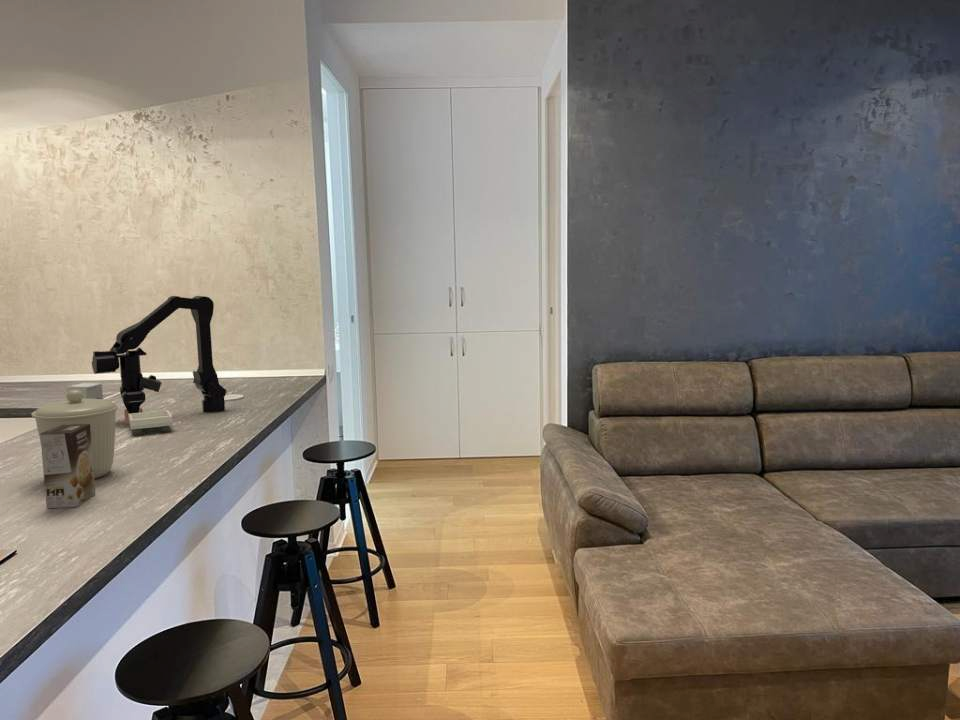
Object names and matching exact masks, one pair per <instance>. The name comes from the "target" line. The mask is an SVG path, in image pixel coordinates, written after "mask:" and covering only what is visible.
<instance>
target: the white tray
mask: <svg viewBox="0 0 960 720" xmlns="http://www.w3.org/2000/svg"><path fill="white" fill-rule="evenodd" d="M128 416H129V424H128V425H129V427H130V431H131V430H133V434H134V435H137V436H138V437H139V435H140V436H142V435H143V434H142V433H143V429H147V428H148V429H149V428H150V429H151V428H157V427H159V428H160V427H161V430H162V431H163V432H165V433H170V431H171V426H174V425H173V423H174V422H173V416H172V414H171V412H170V411H169V410H168V409H164V410H153V411H143V412H142V413H132V414H128ZM137 436H136V437H137Z"/></svg>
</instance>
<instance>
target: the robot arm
mask: <svg viewBox="0 0 960 720" xmlns="http://www.w3.org/2000/svg"><path fill="white" fill-rule="evenodd" d="M214 308H215V304H214V301H213V299H212V298H210V297H208V296H202V295H195V296H194V297H192V298H191V297H183V296H179V295H178V296H177V295H170V296H169V297H167V299H166V300H165V301H163V303H161V304H160V305H159V306H157V307H156V308H155V309H153V311H151V312H150V313H149V314H147V315H146V316H145V317H144V318H143V319H141V320H140V321H139V322H137V323H135V324H132V325H130V326H128V327H126V328H124V329H122V330H121V331H118V333H117V334H116V338H115V340H116V341H115V342H114V344H113V345H112V347H111V348H110V350H104V351H100V350H99V351H98V350H95V351H92V352H93V354H92V355H93V356H92V361H91V368H92V371H93V373H94V374H95V375H97V374H107V373H108V374H109V373H116V371H117V370H118V369H120V374H119V375H120V379H121V380H120V383H121V386H120V387H119V394H120V396H121V399H122V403H123V405H124V407H125V409H127V411H128V413H129V414H132V413H139V408H141V406H142V404H144V403H145V401H146V400H147V399H146V393H145V392H144V390H148V391H149V390H150V391H154V392H155V393H160V392H159V391H160V388H161V386H162V381H161V380H159V379H158V380H157V377H156V375H152V374H150V375H149V376H144V375H143V373H142V370H141V369H142V368H141V358H140V357H142V356H147V352H145V351H144V350H143V349H142V348H141V347H140V345H141V344H142V343H143V342H144V341H145V340H146V337H147V336H148V335H149V333H150V332H152V330H153V329H155V328H156V327H157V326H158V325H160V324H161V323H162V322H164V321H165V320H166V319H167V318H168V317H170V316H171V315H172V314H173V313H175V312H176V311H177V310H178V309H183V310H184V309H185V310H190V313H191V315H192V319H193V321H194V322H195V331H196V332H195V333H196V346H197V359H198V360H197V362H198V366H197V369H196V370H193V371H192V375H193V382H192V383H193V384H194V385H195V388H197V390H199V391H200V392H201V395H203V396H202V397H203V399H202V400H201V406H202V407H201V408H202V410H201V411H202V413H217V412H218V413H219V412H222V411H226V405H225V404H226V403H225V397H226V395H227V389H225V388H224V387H223V386H222V385H220V381H219V377H218V373H217V371H216V368H215V367H214V364H213V363H214V362H213V347H212V331H211V322H212V318H213V316H214Z"/></svg>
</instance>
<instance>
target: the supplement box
mask: <svg viewBox="0 0 960 720" xmlns="http://www.w3.org/2000/svg"><path fill="white" fill-rule="evenodd" d="M71 390H80V391H81V392H82V393H83V399H104V396H103V395H104V394H103V393H104V392H103V384H102V383H101V382H100V383H99V382H98V383H97V382H82V383H77V384H73V385H68V386H66V394H67V393H68V392H69V391H71Z"/></svg>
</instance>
